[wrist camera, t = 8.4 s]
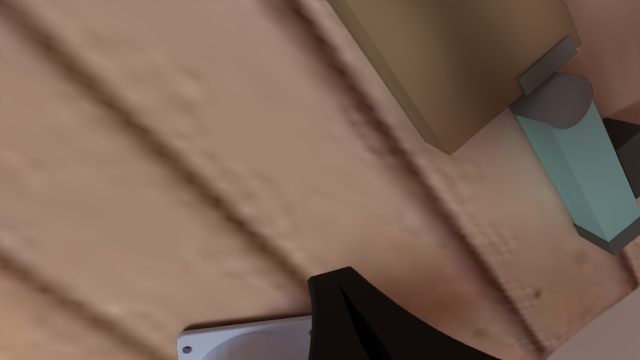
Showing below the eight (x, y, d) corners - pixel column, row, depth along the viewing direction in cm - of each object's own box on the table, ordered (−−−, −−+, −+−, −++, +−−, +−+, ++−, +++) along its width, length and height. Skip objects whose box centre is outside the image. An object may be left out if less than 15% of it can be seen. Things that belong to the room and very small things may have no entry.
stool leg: (500, 92, 21) (537, 101, 18) (540, 58, 21) (582, 62, 18) (579, 235, 26) (616, 256, 24) (611, 209, 26) (652, 227, 24)
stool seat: (462, -235, 15) (506, -282, 13) (624, 163, 25) (667, 177, 23) (279, -68, 16) (290, -84, 14) (507, 259, 26) (537, 283, 23)
